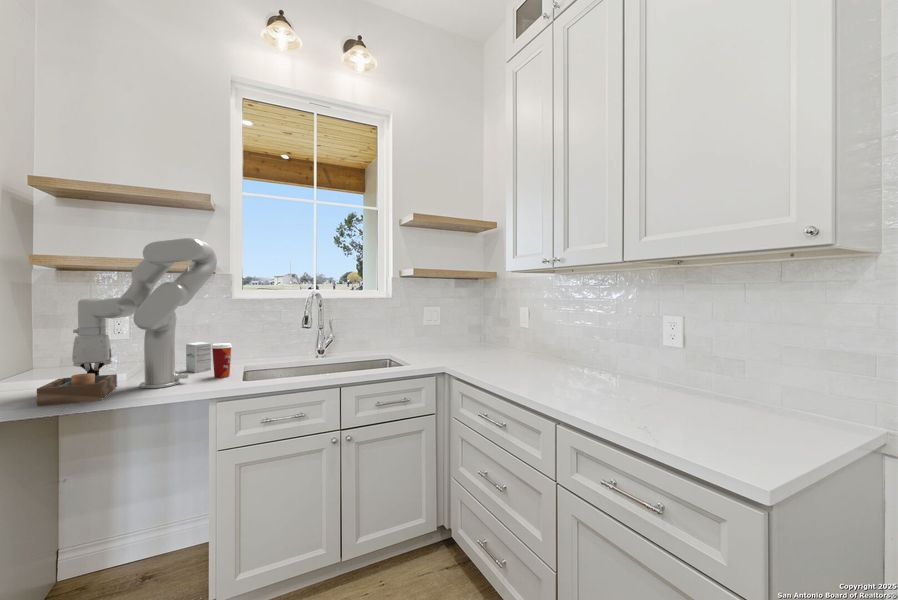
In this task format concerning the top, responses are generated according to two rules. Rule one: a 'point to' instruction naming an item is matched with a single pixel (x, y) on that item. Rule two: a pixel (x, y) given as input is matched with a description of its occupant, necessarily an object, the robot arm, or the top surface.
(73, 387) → the brown wooden open box
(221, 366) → the paper cup
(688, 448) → the top surface
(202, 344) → the supplement box
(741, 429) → the top surface
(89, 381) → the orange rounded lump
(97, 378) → the tray
